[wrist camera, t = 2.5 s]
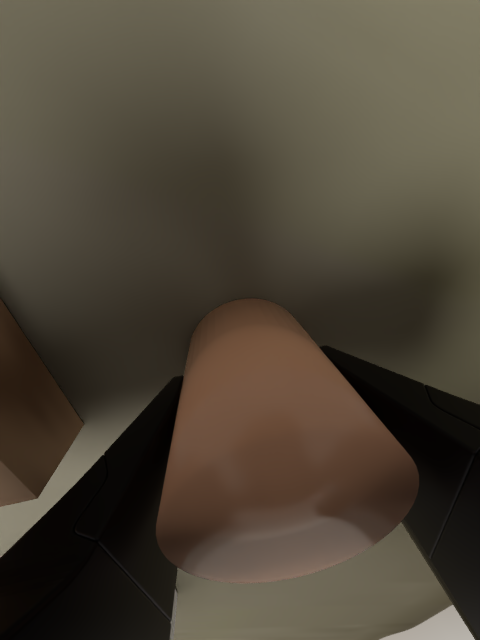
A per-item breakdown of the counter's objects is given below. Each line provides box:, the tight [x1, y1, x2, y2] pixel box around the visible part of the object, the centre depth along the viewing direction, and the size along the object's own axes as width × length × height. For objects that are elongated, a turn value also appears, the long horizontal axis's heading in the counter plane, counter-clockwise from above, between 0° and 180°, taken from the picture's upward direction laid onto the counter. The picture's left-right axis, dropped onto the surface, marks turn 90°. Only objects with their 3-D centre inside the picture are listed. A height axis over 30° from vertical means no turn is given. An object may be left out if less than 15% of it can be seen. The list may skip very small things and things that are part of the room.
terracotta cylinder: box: [156, 298, 419, 583], centre depth 7 cm, size 5×5×6 cm
